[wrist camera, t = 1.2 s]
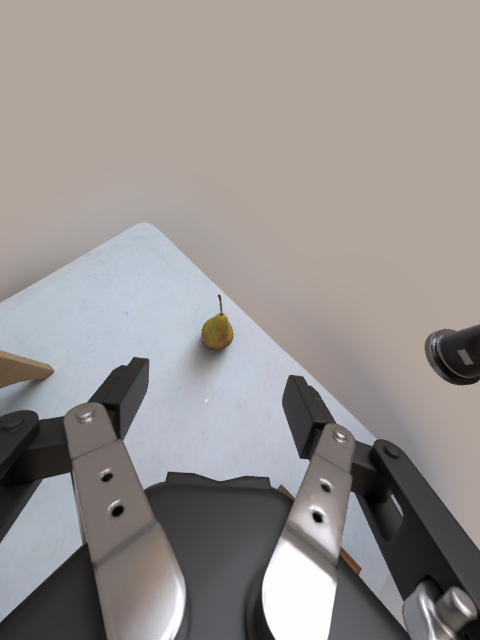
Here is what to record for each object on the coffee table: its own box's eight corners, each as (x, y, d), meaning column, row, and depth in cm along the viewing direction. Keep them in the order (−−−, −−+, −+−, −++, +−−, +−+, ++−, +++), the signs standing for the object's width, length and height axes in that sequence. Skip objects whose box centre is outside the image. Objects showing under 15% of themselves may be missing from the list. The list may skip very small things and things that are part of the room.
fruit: (195, 342, 41) (190, 317, 30) (213, 318, 43) (215, 286, 32) (220, 359, 40) (225, 340, 29) (237, 334, 42) (248, 307, 31)
